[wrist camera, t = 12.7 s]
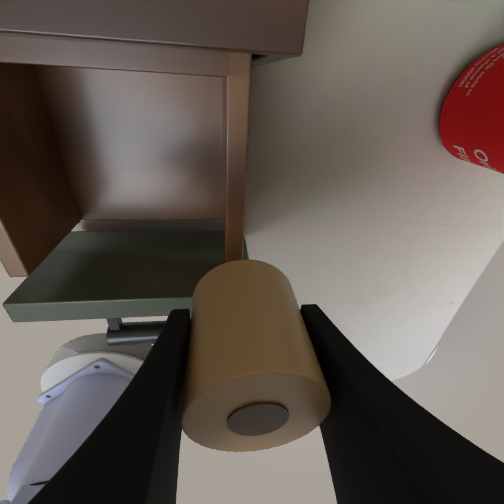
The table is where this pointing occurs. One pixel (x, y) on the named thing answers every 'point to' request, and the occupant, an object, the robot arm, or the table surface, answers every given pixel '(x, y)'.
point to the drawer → (118, 176)
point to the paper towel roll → (250, 362)
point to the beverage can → (477, 113)
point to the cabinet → (167, 24)
